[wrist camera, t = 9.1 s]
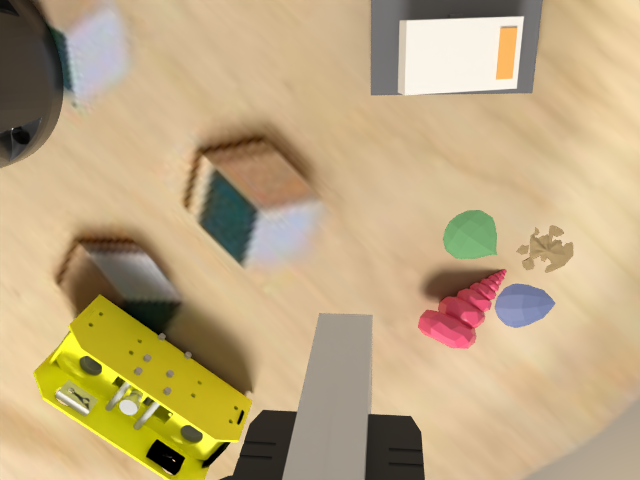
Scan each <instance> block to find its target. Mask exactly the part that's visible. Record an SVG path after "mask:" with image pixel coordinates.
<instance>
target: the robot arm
mask: <svg viewBox="0 0 640 480" xmlns="http://www.w3.org/2000/svg"><path fill="white" fill-rule="evenodd" d="M62 101H63V73H62V67H61V62H60V58H59V54H58V51H57V48H56V45H55V42H54V40H53V37H52V35H51V33H50V31H49V29H48V27H47V25H46V23H45V21H44V20H43V18H42V16H41V15H40V13H39V12H38V10H37V9H36V8H35V6H34V5H33V4H32V2H31V1H30V0H0V168H3V167H6V166H8V165H11V164H13V163H15V162H18V161H20V160H23V159H24V158H26V157H28V156H30V155H31V154H33V153H34V152H35V151H37V150H38V149H39V148H40V147H41V146H42V145H43V144H44V143H45V142H46V140H47V139H48V138H49V136H50V135H51V133H52V131H53V130H54V128H55V126H56V123H57V121H58V118H59V115H60V111H61V107H62ZM372 316H373V315H357V314H325V313H319V318H318V322H317V327H316V331H315V336H314V340H313V345H312V349H311V353H310V358H309V362H308V367H307V371H306V376H305V380H304V385H303V389H302V393H301V398H300V402H299V407H298V411H297V412H292V411H273V410H263V411H262V412H261V413H260V414H259V415H258V416H257V417H256V418H255V419H254V420H253V421H252V422H251V423H250V425H249V428H248V431H247V434H246V437H245V440H244V444H243V446H242V449H241V452H240V457H239V458H238V461H237V464H236V467H235V470H234V473H233V476H227V477H225V478H222V479H220V480H425V476H424V463H423V453H422V437H421V431H420V430H419V428H418V426H417V425H416V423H415V422H414V420H413V419H412V417H411V416H397V415H377V414H371V403H372Z"/></svg>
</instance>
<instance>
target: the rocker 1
mask: <svg viewBox="0 0 640 480" xmlns="http://www.w3.org/2000/svg"><path fill="white" fill-rule="evenodd" d="M523 21H524V16H506V17H478V18H451V19H423V20H400V23H399V66H398V93H400V94H403V95H419V94H435V93H452V92H468V91H485V90H501V89H517V80H518V70H519V60H520V50H521V40H522V31H523Z"/></svg>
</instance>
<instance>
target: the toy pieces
mask: <svg viewBox="0 0 640 480" xmlns="http://www.w3.org/2000/svg"><path fill="white" fill-rule="evenodd" d="M538 234H539V230H538V229H537V228H536V227H535V233H534V234H533V235H531V239H530V257H529V258H528V259H526V260H524V261H522V264H523V267H524V268H525V269H526V270H530V269H533V267H534V263H533V259H535V258H537V257H539V256H541V260H542V261H544V262H545V260H546V259H547V258H548V259H549V260H550V261H551V265H549V266H547V268H546V270H545V272H546V273H547V272H551V271H553V270H556V269H558V268H560V267H562V266H564V265H565V264H566V263H567V262H568V261H569V260H570V258H571V257H572V256H573V243H572V242H570V243H566V244H565V245H564V247H563V246H562V242H561V240H554V241H553V242H552V238H553V235H554V236H556V237H558V236H561V235H562V234H564V232H563V231H562V229H560V228H558V227H557V228H556V226H553V225H552V226H550V229H549V236H548V235H546V236H541V237H540V238H539V239H538V238H535V236H534V235H538ZM443 241H444V245H445V249H446V250H447V252H449V253H450V254H451V255H452V256H454V257H455V258H457V259H476V258H480V257H484V256H488V255H497V252H496V242H497V233H496V228H495V223H494V220H493V218H492V217H491V216H489V215H488V214H486V213H484V212H483V211H480V210H472V211H466V212H464V213H461V214H459V215H457V216H456V217H455V218H453V219H452V220H451V221H450V222H449V224H448V226H447V227H446V229H445V233H444V237H443ZM528 248H529V245H528V246H524V245H522V246H521V247H520V248H519V249H518V250H517V251H516V252H518V253H520V254H521V255H522V254H527V252H528ZM532 258H533V259H532ZM505 273H506V270H501V271H499V272H498V273H494V274H493V275H490V276H489V277H488V278H487V279H484V278H483V279H482V280H481V281H480V283H474V284H472V285H471V286H470V289H467V288H466V289H463V290H460V291H459V292H458V294H457V296H456V297H446V298H445V299H443V300H442V301H441V302H440V303H439V307H438V310H439V312H437V311H433V310H426V311H425V312H424V313H423V314H422V316H421V317H420V320H419V325H418V328H419V329H420V330H421V331H422V333H423V334H425V335H427V336H429V337H431V338H433V339H435V340H437V341H439V342H441V343H443V344H445V345H447V346H449V347H451V348H467V349H468V348H469V347H470V346H471V345H472V344H473V343H475V339H476V333H475V328H477V327H478V326H479V325H480V324H481V323H483V322H484V319H485V315H484V312H485V311H487V310H490V307H491V301H490V300H491V299H494V298H495V296H496V293H495V291H497V290H498V289H499V286H498V285H500V284H501V281H502V280H503V279H504V276H505ZM554 304H555V302H554V301H553V300H552V298H551V297H550V296H549V295H548V294H547V293H546V292H545V291H544V290H542V289H538V288H535V287H532V286H529V285H524V284H512V285H510V286H508V287H506V288H504V290H503V291H502V292H501V294H500V295H499V296H498V298H497V301H496V305H495V310H496V313H497V315H498V317H499V319H500V320H501V321H502V322H503V323H504V324H505V325H507V326H511V327H514V328H518V327H522V326H526V325H529V324H531V323H533V322H535V321H537V320H540V319H542V318H544V317H545V315H546V314H547V313H548V312H549V311H550V310H551V309H552V307H553V306H554Z"/></svg>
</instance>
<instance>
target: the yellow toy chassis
mask: <svg viewBox="0 0 640 480" xmlns="http://www.w3.org/2000/svg"><path fill="white" fill-rule="evenodd" d="M68 327H69V329H70V331H69V332H68V334H67V335H66V337H65V338H64V340H63V341H62V342H61V344H60V345H59V346H58V347H57V348H56V349H55V350H54V352H53V353H52V354H51V355H50V356H49V357H48V358H47V359H46V360H45V361H44V362H43V363H42V364H41V365H40V366H39V367H38V368H37V369H36V370H35V371H34V372H33V374H34V377H35V380H36V382H37V385H38V388H39V391H40V393H41V396H42V399H43V400H45V401H46V402H48V403H49V404H51V405H52V406H54V407H55V408H57V409H58V410H60V411H62V412H63V413H65V414H66V415H68V416H69V417H71V418H72V419H74V420H75V421H77V422H78V423H80V424H81V425H83V426H84V427H86V428H87V429H89V430H91V431H92V432H94V433H95V434H97V435H98V436H100V437H101V438H103V439H104V440H106V441H107V442H109V443H110V444H112V445H113V446H115V447H117V448H118V449H120V450H121V451H123V452H124V453H126V454H127V455H129V456H130V457H132V458H133V459H135V460H136V461H138V462H139V463H141V464H142V465H144V466H146V467H147V468H149V469H150V470H152V471H153V472H155V473H156V474H158V475H159V476H161V477H162V478H164V479H165V480H204V479H205V476H206V474H207V471H208V469H209V466H210V465H211V464H212V463H213V462H214V461H215V459H216V458H217V457H218V456H219V455H220V454H221V453H222V452H223V451H224V450H225V449H226V448H227V446H228V445H229V444H230V442H238V441H239V438H240V435H241V433H242V430H243V427H244V424H245V421H246V418H247V415H248V412H249V409H250V407H251V404H252V401H251V400H250V399H248V398H247V397H246V396H244V395H243V394H241V393H240V392H238V391H237V390H236V389H234V388H233V387H231V386H230V385H228V384H227V383H226V382H224V381H223V380H221V379H220V378H218V377H217V376H216V375H214V374H213V373H211V372H210V371H208V370H207V369H206V368H204V367H203V366H201V365H200V364H199V363H197V362H196V361H194V360H193V359H191V358H190V357H191V356H192V354H191V353H190V352H186V353H185V354H184V353H183V352H181V351H180V350H179V349H177V348H176V347H174V346H173V345H171V344H170V343H169V342H167V341H166V340H164V339H165V337H166V336H165V335H164V334H163V333H160V334H159V335H157V334H156V333H154V332H153V331H151V330H150V329H149V328H147V327H146V326H144V325H143V324H142V323H140V322H139V321H137V320H136V319H134V318H133V317H132V316H130V315H129V314H127V313H126V312H124V311H123V310H122V309H120V308H119V307H117V306H116V305H114V304H113V303H112V302H110V301H109V300H107V299H106V298H104V297H103V296H102V295H99V296H98V297H97V298H96V299H95V300H94V301H93V302H92V303H91V304H90V305H89V306H88V307H87V308H86V309H85V310H84V311H83V312H82V313H81V314H80V315H79V316H78V317H77V318H76V319H75V320H74V321H73V322H72V323H71V324H70V325H69V326H68ZM60 388H61V389H60ZM58 389H60V390H59V391H58V392H57V394H56V395H55V393H56V390H58ZM69 391H71V392H72V393H70V392H69ZM56 398H58V399H59V400H61V401H62V402H64V403H65V404H67V405H68V406H66V405H63V404H61V403H60V402H59V401H58V400H57V399H56ZM169 415H171V417H169ZM172 459H174V460H175V462H174V461H173V460H172ZM162 468H164V469H166V470H167V471H169V472H170V473H172V474H173V475H170V474H168V473H166V472H165V471H164V470H163V469H162Z"/></svg>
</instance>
